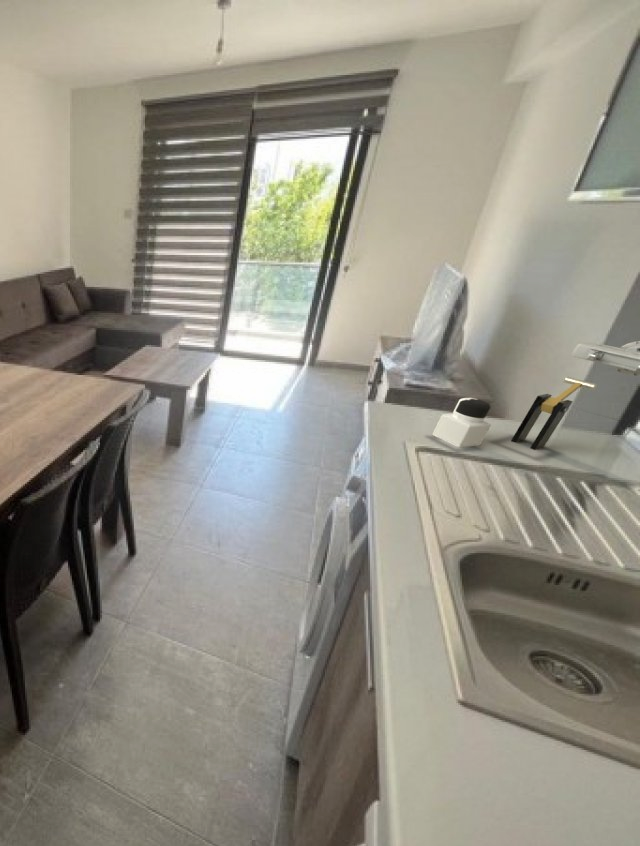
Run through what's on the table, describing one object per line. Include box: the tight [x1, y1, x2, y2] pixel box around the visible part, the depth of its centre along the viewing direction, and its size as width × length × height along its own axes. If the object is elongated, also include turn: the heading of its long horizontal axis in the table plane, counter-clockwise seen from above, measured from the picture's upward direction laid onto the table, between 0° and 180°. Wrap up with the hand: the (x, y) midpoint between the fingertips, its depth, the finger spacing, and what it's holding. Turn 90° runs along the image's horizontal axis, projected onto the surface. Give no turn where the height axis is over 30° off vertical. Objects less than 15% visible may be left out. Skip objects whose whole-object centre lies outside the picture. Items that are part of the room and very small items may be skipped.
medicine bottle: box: [432, 397, 492, 448], centre depth 119 cm, size 7×7×12 cm
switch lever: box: [540, 376, 598, 415], centre depth 116 cm, size 12×6×2 cm, turn 111°
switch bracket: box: [510, 393, 573, 451], centre depth 118 cm, size 10×9×14 cm
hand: (615, 363), depth 120 cm, fingers open, 8 cm apart
